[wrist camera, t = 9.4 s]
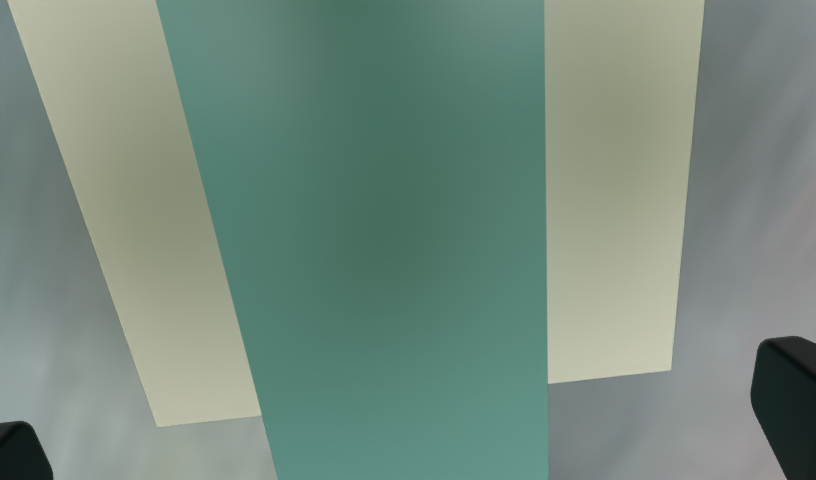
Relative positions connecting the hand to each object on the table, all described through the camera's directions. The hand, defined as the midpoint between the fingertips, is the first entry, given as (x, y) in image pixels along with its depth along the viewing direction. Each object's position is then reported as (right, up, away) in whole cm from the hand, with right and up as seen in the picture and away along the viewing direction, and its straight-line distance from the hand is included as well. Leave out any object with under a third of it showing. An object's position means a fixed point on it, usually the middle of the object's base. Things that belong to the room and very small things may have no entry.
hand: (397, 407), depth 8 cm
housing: (0, +4, +8) cm, 9 cm away
